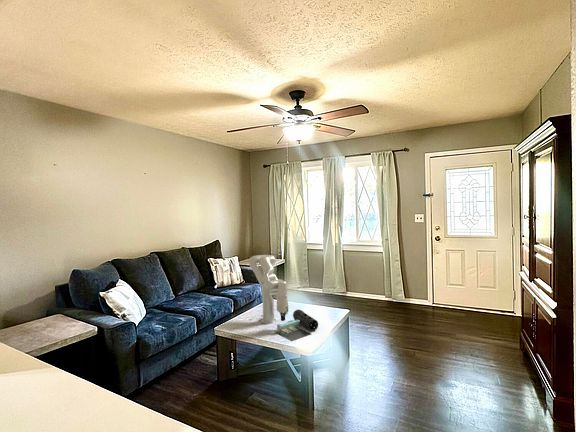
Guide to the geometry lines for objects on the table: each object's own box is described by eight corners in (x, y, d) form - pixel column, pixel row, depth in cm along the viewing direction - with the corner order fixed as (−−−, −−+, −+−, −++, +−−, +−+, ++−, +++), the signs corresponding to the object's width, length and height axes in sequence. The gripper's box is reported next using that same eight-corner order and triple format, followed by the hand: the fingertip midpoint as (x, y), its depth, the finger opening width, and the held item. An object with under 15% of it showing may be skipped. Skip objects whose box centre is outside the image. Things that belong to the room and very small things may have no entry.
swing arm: (279, 333, 236) (279, 326, 235) (276, 331, 238) (276, 325, 238) (300, 326, 249) (300, 319, 249) (297, 324, 252) (297, 318, 252)
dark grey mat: (273, 333, 239) (273, 331, 239) (293, 326, 252) (293, 325, 252) (291, 342, 222) (291, 340, 222) (312, 335, 235) (312, 333, 235)
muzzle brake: (307, 333, 238) (307, 320, 238) (292, 321, 264) (291, 309, 264) (318, 331, 242) (318, 318, 242) (302, 320, 268) (302, 308, 268)
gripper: (272, 296, 250) (273, 319, 250) (284, 299, 238) (285, 323, 238) (280, 294, 255) (281, 317, 255) (292, 298, 243) (292, 321, 243)
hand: (283, 320), depth 246 cm, fingers closed
